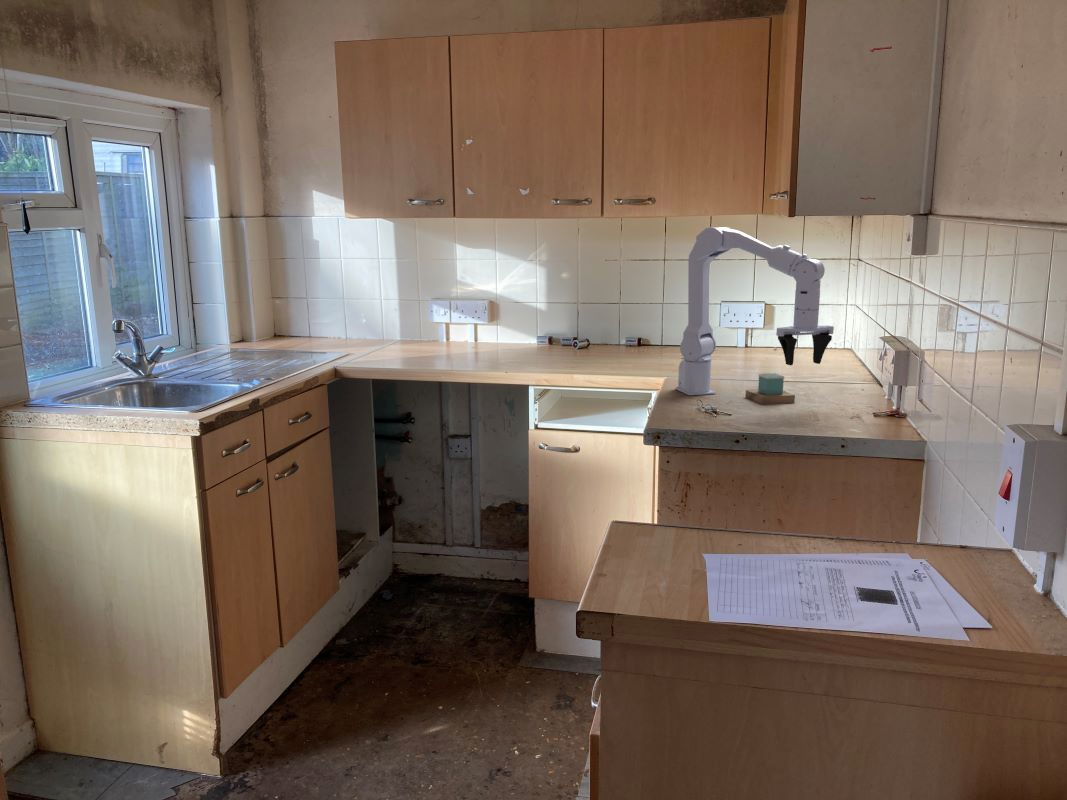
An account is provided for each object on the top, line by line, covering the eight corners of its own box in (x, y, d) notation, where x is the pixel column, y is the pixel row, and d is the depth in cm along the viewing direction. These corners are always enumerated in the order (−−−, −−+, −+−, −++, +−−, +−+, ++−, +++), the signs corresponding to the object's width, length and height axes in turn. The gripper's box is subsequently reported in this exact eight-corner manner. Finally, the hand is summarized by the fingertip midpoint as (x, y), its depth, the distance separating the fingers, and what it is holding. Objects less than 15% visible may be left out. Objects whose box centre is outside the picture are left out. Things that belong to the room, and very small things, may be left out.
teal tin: (757, 391, 215) (758, 373, 214) (774, 390, 216) (775, 372, 215) (766, 394, 211) (767, 377, 210) (783, 393, 212) (784, 376, 211)
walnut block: (745, 398, 217) (745, 389, 217) (776, 397, 219) (776, 388, 219) (762, 406, 209) (762, 396, 208) (794, 404, 211) (794, 395, 210)
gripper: (788, 311, 197) (785, 368, 200) (842, 309, 200) (838, 365, 203) (773, 308, 203) (770, 363, 206) (825, 306, 207) (822, 360, 210)
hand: (803, 364), depth 205 cm, fingers open, 7 cm apart
